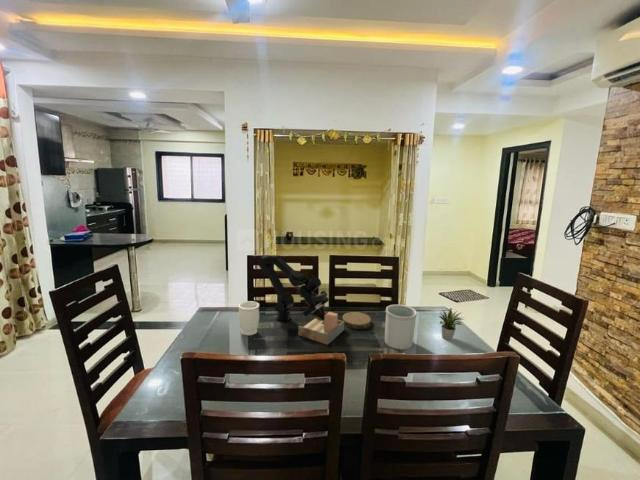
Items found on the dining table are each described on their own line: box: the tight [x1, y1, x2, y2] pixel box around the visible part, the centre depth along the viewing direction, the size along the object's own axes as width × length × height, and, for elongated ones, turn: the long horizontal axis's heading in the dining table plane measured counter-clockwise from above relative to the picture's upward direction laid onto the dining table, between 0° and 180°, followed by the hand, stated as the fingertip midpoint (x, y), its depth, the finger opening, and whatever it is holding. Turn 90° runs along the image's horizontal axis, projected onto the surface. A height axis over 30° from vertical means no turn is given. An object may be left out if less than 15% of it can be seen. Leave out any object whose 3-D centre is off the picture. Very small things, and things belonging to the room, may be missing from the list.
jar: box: [237, 300, 260, 336], centre depth 174 cm, size 11×10×15 cm
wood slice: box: [341, 311, 372, 330], centre depth 191 cm, size 16×16×3 cm
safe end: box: [315, 319, 345, 346], centre depth 175 cm, size 7×18×5 cm, turn 150°
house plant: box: [438, 308, 465, 341], centre depth 175 cm, size 14×14×16 cm
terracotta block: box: [324, 311, 339, 333], centre depth 174 cm, size 5×5×9 cm
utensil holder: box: [384, 304, 418, 350], centre depth 169 cm, size 15×15×18 cm
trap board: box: [297, 316, 324, 342], centre depth 179 cm, size 10×18×5 cm, turn 150°
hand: (325, 320), depth 175 cm, fingers closed, pressing on terracotta block
